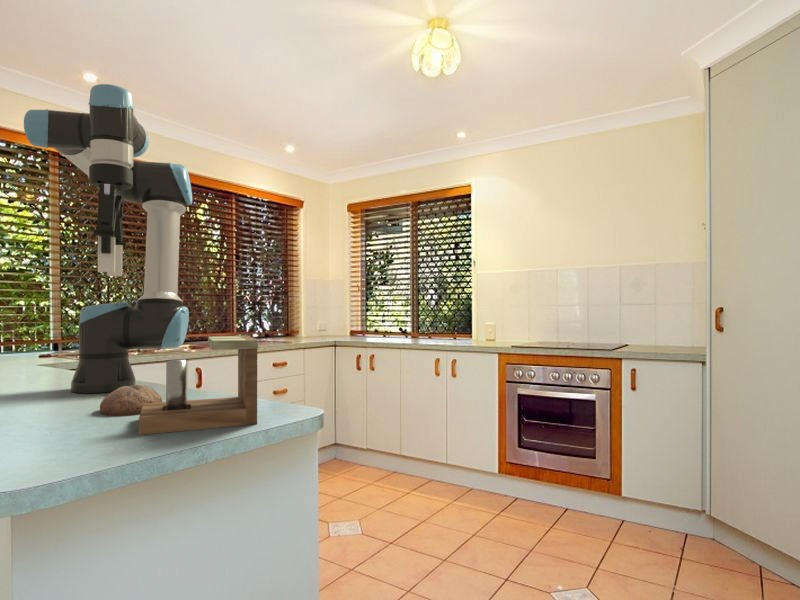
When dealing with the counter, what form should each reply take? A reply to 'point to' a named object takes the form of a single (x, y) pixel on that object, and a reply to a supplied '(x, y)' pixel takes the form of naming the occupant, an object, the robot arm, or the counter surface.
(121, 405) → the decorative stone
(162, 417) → the socket station
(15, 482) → the counter surface
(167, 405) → the peg
